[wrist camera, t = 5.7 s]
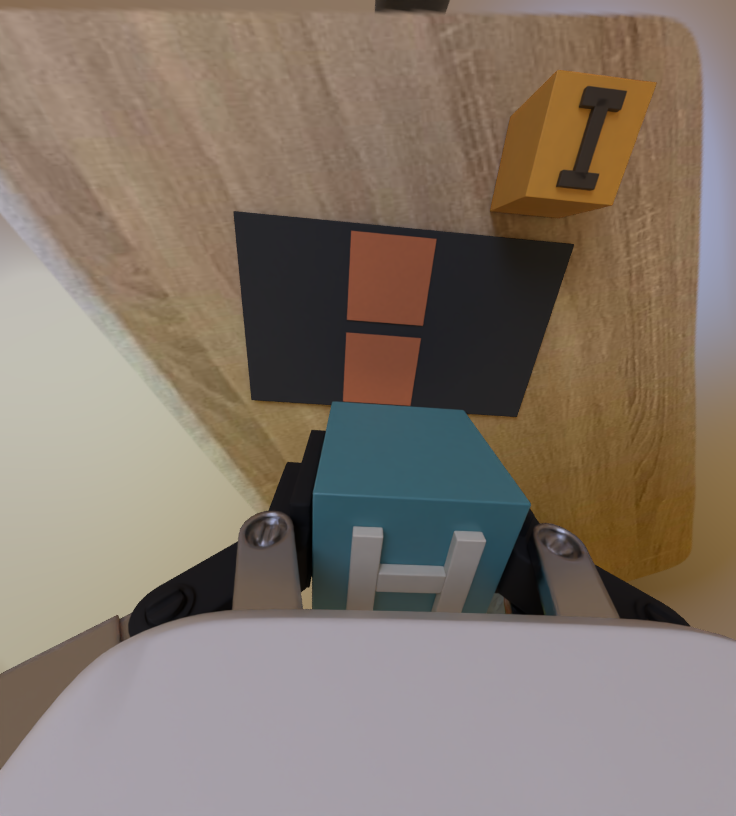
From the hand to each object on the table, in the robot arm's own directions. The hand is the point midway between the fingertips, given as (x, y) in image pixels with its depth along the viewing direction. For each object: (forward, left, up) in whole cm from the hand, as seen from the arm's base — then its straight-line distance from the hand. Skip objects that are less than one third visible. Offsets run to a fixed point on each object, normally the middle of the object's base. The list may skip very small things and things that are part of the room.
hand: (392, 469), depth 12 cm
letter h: (0, 0, -1) cm, 1 cm away
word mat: (-3, +1, -15) cm, 15 cm away
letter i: (-14, +9, -15) cm, 22 cm away
